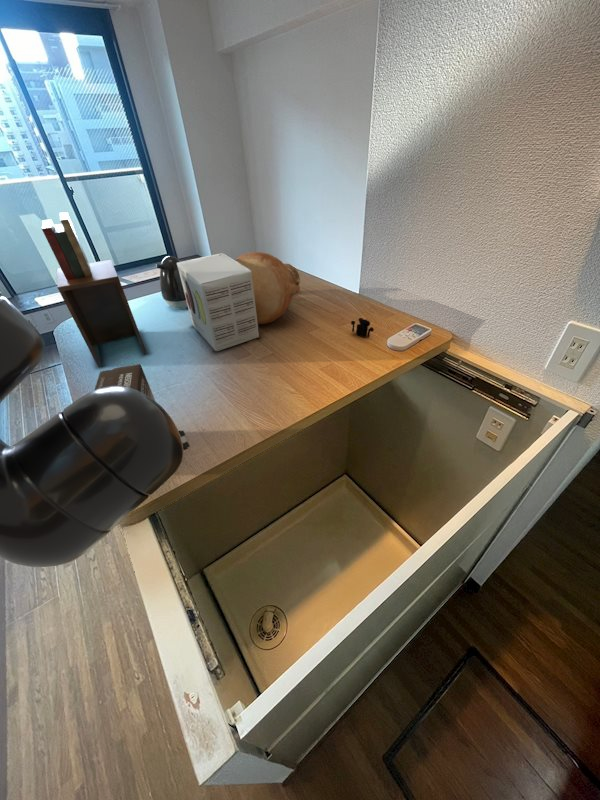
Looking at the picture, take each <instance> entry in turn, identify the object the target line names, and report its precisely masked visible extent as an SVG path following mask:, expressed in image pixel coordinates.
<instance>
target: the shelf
mask: <svg viewBox="0 0 600 800" xmlns="http://www.w3.org/2000/svg"><path fill="white" fill-rule="evenodd" d="M59 220H60V223H57V224H56V223H55V224H54V222H53V220H52V219H42V222H41V231H42V233H43V235H44V237H45V239H46V241H47V243H48V245H49V248H50V249H51V251H52V253H53V255H54V257H55V259H56V262H57V264H58V265H59V267H57V268H56V285H57V290H58V292H59V294H60V296H61V298H62V300H63V301H64V303H65V305H66V308H67V310H68V311H69V313H70V316H71V317H72V319H73V321H74V323H75V325H76V326H77V329H78V331H79V332H80V335H81V336H82V339H83V340H84V343H85V345H86V347H87V348H88V350H89V352H90V354H91V356H92V358H93V360H94V361H95V364H96V366H97V367H98V368H101V367H103V365H102V360H101V355H100V351H99V345H100V344H105V343H108V342H112V341H116V340H120V339H125V338H128V337H133V336H136V338H137V340H138V342H139V345H140V347H141V350H142V353H143V355H144V356H145V355H148V352H147V348H146V346H145V343H144V340H143V338H142V336H141V333H140V330H139V328H138V325H137V323H136V319H135V317H134V315H133V312H132V310H131V307H130V305H129V302H128V299H127V296H126V294H125V293H126V292H125V291H124V288H123V286H122V283H121V281H120V278H119V275H118V273H117V270H116V269H115V266H114V263H113V261H112V259H106V260H100V261H99V260H98V261H95V262H93V261H92V262H89V260H88V257H87V255H86V253H85V251H84V249H83V246H82V243H81V241H80V239H79V237H78V235H77V232H76V230H75V228H74V225H73V222H72V220H71V218H70V216H69V213H68V212H67V211H66V212H59Z"/></svg>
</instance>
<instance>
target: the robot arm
mask: <svg viewBox="0 0 600 800" xmlns="http://www.w3.org/2000/svg"><path fill="white" fill-rule="evenodd" d="M45 351H46V343H45V340H44V338H43V336H42V334H41V333H40V332H39V330H38V329H37V328H36V327H35V325H34V324H33V323H32V322H31V321H30V320H29V319H28V317H26V316H25V314H23V312H21V311H20V310H19V309H18V308H17V307H16V306H15V305H14V304H13V302H11V300H9V299H8V298H7V297H6V296H2V292H1V291H0V404H1V403H2V402H3V401H4V400H5V398H6V397H7V396H8V395H9V394H11V393H12V392H13V390H15V388H17V387H18V386H19V385H20V384H21V383H22V382H23V381H24V380H25V379H26V378H27V377H28V376H29V375H30V374H31V373H32V372H33V370H35V368H36V367H37V366H38V365H39V364H40V362H41V361H42V359H43V357H44V355H45ZM189 448H190V443H189V441H188V438H187V436H186V433H185V431H184V429H182V430H181V429H180V430H179V429H178V427H177V425H176V423H175V422H174V420H173V418H172V417H171V416H170V414H169V413H168V412H167V411H166V409H164V407H163V406H161V404H159V403H158V402H157V401H156V400H155V401H154V400H153V399H152V398H150V397H149V396H147V395H146V394H144V393H142V392H140V391H138V390H135V389H132V388H129V387H124V386H108V387H103V388H100V389H97V390H95V389H94V390H91V391H89V392H88V393H85V394H84V395H83V396H82V395H81V397H80V398H78V399H76V400H75V401H73V402H71V404H69V405H67V406H66V407H65V408H63V410H62V411H59V412H58V413H56V414H55V415H53V416H52V417H51V418H50V419H48V420H47V421H45V422H44V423H42V424H41V425H40V426H38V427H37V428H36V429H35V430H33V431H31V432H30V433H29V434H27V435H26V436H25V437H23V438H21V439H20V440H19V441H18V442H16V443H14V444H12V445H11V446H10V445H8V444H7V443H6V442H4V441H3V440H2V438H0V558H1V559H3V560H5V561H7V562H9V563H11V564H15V565H17V566H25V567H29V568H50V567H58V566H63V565H66V564H69V563H71V562H74V561H76V560H77V559H79V558H80V557H82V556H83V555H85V554H86V553H88V552H89V551H90V550H91V549H92V548H93V547H95V546H96V545H97V544H98V543H99V542H100V541H102V540H103V539H104V538H105V537H106V536H107V535H108V534H109V533H111V532H112V530H113V529H114V528H116V527H117V526H118V525H119V524H120V523H121V522H123V521H124V520H125V519H126V518H127V517H128V516H129V515H130V514H131V513H132V512H134V511H135V510H136V509H137V508H138V507H139V506H140V505H142V504H143V503H144V502H145V501H146V500H147V499H149V497H150V496H151V495H153V494H154V493H155V492H156V491H157V490H158V489H160V487H161V486H163V485H164V484H166V482H168V480H169V479H170V478H171V477H172V476H173V475H174V474H175V473H176V472H177V471H178V469H179V468H180V467H181V464H182V462H183V458H184V451H185V450H188V449H189Z"/></svg>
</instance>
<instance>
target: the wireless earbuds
mask: <svg viewBox="0 0 600 800" xmlns="http://www.w3.org/2000/svg"><path fill="white" fill-rule="evenodd" d="M358 322H359V323H357V324H356V321H355V320H351V321H350V324H351V325H352V328H351V329H352V330H351V331H352V333H354V331H355V324H356V331H355V334H356V335H357V336H359V337H362V338H366V337H367V338H368V339H369V338H370V332H374V331H375V330H374V327H373V326H371V322H370V321H369V320H368V319H364V318H362V317H359V318H358ZM370 326H371V327H370ZM369 327H370V328H369Z"/></svg>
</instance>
